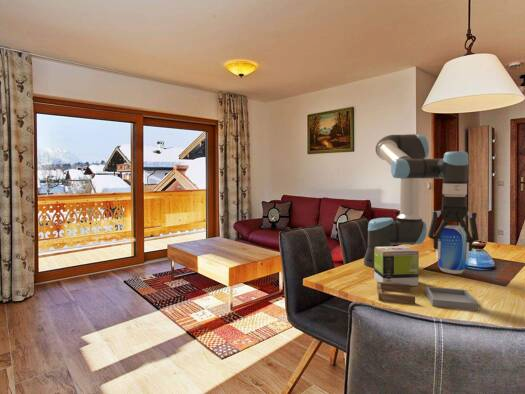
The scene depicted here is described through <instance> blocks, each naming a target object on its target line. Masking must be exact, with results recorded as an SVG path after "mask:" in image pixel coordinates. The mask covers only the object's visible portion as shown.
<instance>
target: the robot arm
mask: <svg viewBox="0 0 525 394" xmlns="http://www.w3.org/2000/svg"><path fill="white" fill-rule="evenodd" d="M429 149H430V146H429V142H428V139H427V137H426V136H425V135H423V134H416V133H413V134H409V133H408V134H390V135H385V136H384V137H382V138H381V139H380V140H378V141H377V143H376V145H375V154H376V155H377V156H378V158H379V159H381V160H383V161H385V162H386V163H388V165H390V174H391V177H393V178H394V179H400V192H399V195H400V196H399V197H400V198H399V199H400V200H399V214H398V215H397V216H396V220H394V218H392V217H377V218H373V219H370V220H369V221H368V225H367V227H368V228H367V250H366V253H365V255H364V257H363V258H364V259H363V264H364V265H365V266H367V267H371V268H374V248H375V247H386V246H393V245H406V246H408V245H410V246H415V245H421V244H423V242H425V239H426V237H428V238H430V239H431V240H432V241H433V249H434V250H435V251H436V253H435V258H436V259H440V247H441V241H439V238H440V236H441V232H442V231H443V229H444V227H446V225H449V223H458V224H459V226H461V228H463V227H464V228H463V229H464V231H465V232H466V234H467V237H466V260H465V262H468V261H469V254H470V253H469V252H472V250H473V243H474V242H478V241H479V233H478V227H477V221H476V219H477V215H478V214H477V212H474V211H468V209H467V204H468V203H467V200H468V197H466V195H468V173H469V163H470V162H469V154H468V152H467V151H446V152H445V153H444V154H443V158H428V156H429V151H430V150H429ZM420 179H437V180H438V179H440V180H441V179H442V198H441V209H440V210H433V211H431V215H432V216H431V217H432V218H431V222H430V226H429V230H428V231H427V229H428V227H427V223H426V222H425V221H424V220H423V217H422V216H421V215H420V184H421V183H420V181H421V180H420ZM440 215H441V216H442V218H443V219H442V220H441V223H440V225H438V226H439V227H438V229H437V230H436V227H437V223H438V218H440ZM466 216H467V217H468V218H469V224H470V225H469V226H470V231H471V233H470V231H469V229H468V227H467V225H466V221H465V220H464V219H465V217H466ZM435 231H436V232H435ZM427 233H428V234H427ZM427 235H428V236H427Z"/></svg>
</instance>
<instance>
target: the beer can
mask: <svg viewBox="0 0 525 394" xmlns="http://www.w3.org/2000/svg"><path fill="white" fill-rule="evenodd" d="M463 228H464V227H463ZM463 228H461V226H460V225H453V224H451V225H450V224H447V225H446V227H444V229H443V231H442V232H441V236H440V238H439V239H438V240H439V241H441V247H440V259H438V262H437V263H438V264H437V265H438V267H439V269H440V271H442V272H444V273H448V274H463V272H464V271H465V270H466V261H465V260H466V241H467V239H466V237H467V234H466V232H465V231H464V229H463Z"/></svg>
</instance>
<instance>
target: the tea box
mask: <svg viewBox="0 0 525 394" xmlns="http://www.w3.org/2000/svg"><path fill="white" fill-rule="evenodd" d="M419 254H420V252H419V250H416V248H412V247H410V246H408V245H400V246H399V245H395V246H393V245H392V246H386V247H375V248H374V267H373V272H374V275H373V276H374V277H373V278H374V280H375V281H376V283H377V282H383V283H395V284H406V285H410V286H414V287H415V286H419V279H420V278H419V268H420V267H419V262H420V260H419V259H420V258H419V256H420V255H419Z"/></svg>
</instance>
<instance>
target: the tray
mask: <svg viewBox="0 0 525 394" xmlns="http://www.w3.org/2000/svg"><path fill="white" fill-rule="evenodd" d="M424 286H425V290H424V293H425V295H426V296H427V298H428V300H429V302H430V304H431V306H432V307H437V308H446V309H447V308H448V309H457V310H467V311H477V312H479V310H480V307H479V306H480V304H479V302H478V301H477V300H476V299H475V298H474V297H473V295H472V294H471V293H470V292H469V291H468V290H467V289H464V288H463V289H462V288H461V289H459V288H452V287H451V288H450V287H439V286H438V287H436V286H430V285H429V286H427V285H424Z"/></svg>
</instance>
